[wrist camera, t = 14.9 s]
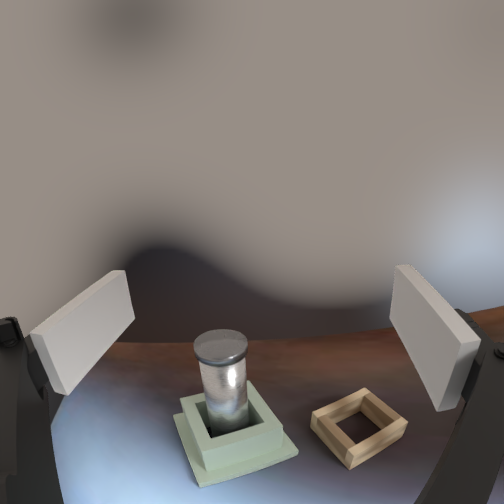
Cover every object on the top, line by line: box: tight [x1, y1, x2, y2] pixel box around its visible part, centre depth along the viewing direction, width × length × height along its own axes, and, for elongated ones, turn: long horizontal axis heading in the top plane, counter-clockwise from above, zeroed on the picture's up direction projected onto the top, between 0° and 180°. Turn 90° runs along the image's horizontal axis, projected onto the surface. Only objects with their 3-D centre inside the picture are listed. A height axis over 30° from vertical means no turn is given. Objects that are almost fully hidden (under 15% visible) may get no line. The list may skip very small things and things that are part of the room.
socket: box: [173, 381, 299, 488], centre depth 33 cm, size 12×12×5 cm
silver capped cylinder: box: [194, 329, 250, 438], centre depth 31 cm, size 5×5×15 cm
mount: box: [310, 388, 408, 470], centre depth 32 cm, size 9×9×3 cm
